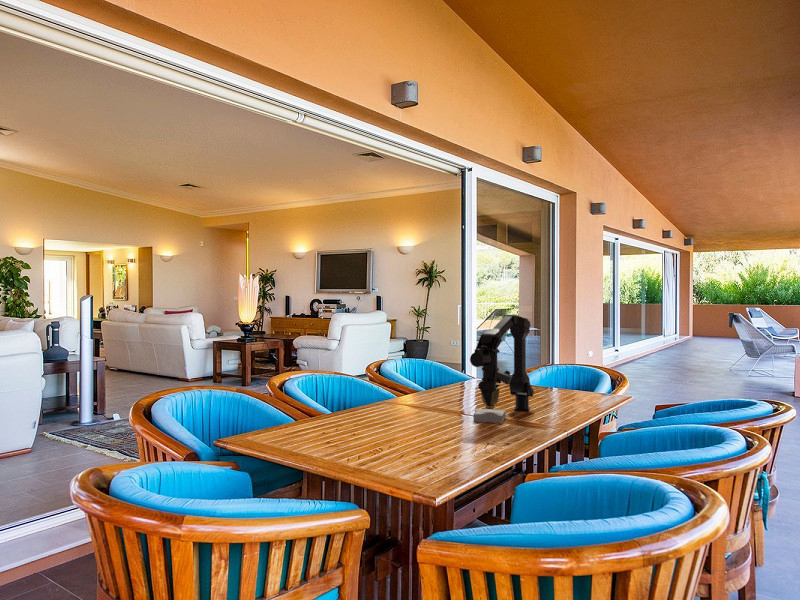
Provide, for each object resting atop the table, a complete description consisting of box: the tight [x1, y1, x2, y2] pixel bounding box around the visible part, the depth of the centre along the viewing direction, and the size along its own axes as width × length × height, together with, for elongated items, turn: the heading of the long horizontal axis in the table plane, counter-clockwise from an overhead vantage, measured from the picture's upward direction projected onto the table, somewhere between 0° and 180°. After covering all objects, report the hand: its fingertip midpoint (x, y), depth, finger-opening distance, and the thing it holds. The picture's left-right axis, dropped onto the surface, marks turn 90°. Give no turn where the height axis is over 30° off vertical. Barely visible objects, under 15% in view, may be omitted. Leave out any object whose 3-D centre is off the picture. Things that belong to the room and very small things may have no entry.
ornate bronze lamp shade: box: [480, 387, 501, 410], centre depth 227 cm, size 8×7×8 cm
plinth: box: [473, 408, 507, 424], centre depth 227 cm, size 11×11×3 cm
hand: (490, 404), depth 227 cm, fingers closed on ornate bronze lamp shade, 6 cm apart
